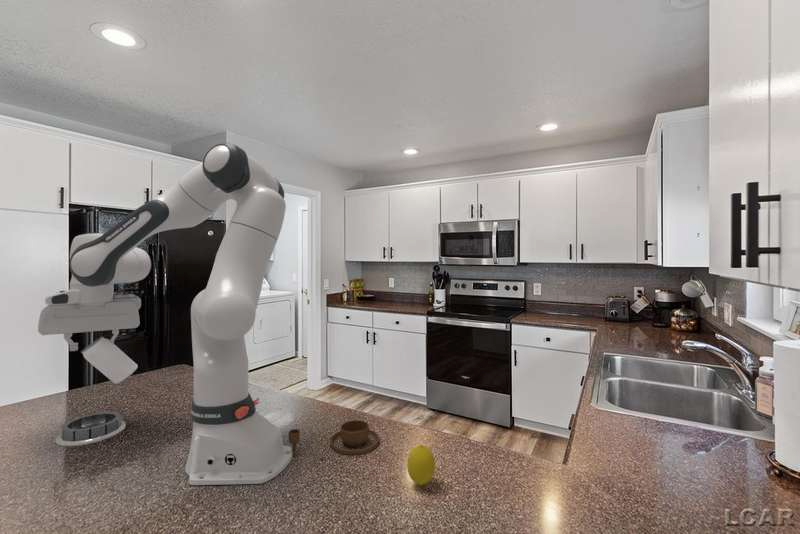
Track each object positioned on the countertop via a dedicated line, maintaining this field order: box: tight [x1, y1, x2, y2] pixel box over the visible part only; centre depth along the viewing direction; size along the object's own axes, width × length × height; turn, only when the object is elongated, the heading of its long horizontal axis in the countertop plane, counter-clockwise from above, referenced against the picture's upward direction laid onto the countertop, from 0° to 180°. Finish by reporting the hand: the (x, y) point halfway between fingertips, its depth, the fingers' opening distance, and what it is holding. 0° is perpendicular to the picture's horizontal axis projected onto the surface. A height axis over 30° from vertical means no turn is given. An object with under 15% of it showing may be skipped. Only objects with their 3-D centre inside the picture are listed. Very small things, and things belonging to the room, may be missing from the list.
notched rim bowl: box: [55, 411, 127, 447], centre depth 97 cm, size 14×14×3 cm
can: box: [80, 336, 139, 385], centre depth 99 cm, size 6×6×12 cm
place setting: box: [288, 419, 380, 462], centre depth 91 cm, size 18×20×6 cm
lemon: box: [406, 444, 436, 486], centre depth 74 cm, size 6×6×8 cm
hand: (92, 348), depth 96 cm, fingers open, 6 cm apart
